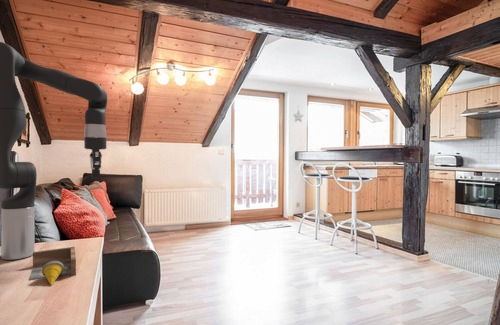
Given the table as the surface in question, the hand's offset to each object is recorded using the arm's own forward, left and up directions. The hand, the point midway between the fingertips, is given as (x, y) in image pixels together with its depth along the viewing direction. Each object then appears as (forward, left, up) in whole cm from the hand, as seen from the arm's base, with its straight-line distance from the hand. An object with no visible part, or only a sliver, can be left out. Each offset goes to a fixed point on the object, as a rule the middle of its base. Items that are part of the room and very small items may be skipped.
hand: (95, 179), depth 115 cm
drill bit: (+9, -22, -24) cm, 34 cm away
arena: (+10, -23, -28) cm, 37 cm away
